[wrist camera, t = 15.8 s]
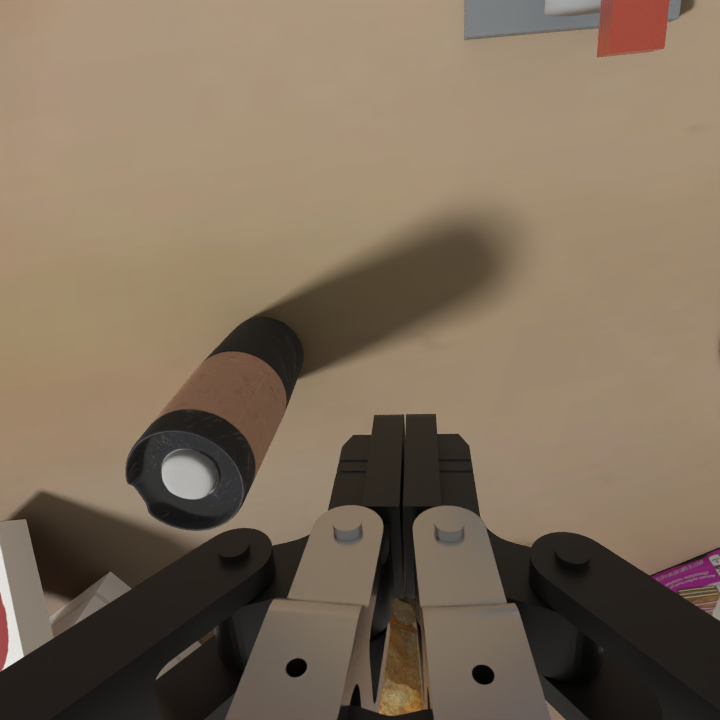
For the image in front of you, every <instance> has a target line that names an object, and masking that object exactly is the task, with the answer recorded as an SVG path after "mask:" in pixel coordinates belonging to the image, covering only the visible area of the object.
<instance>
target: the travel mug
mask: <svg viewBox="0 0 720 720" xmlns="http://www.w3.org/2000/svg"><path fill="white" fill-rule="evenodd" d="M302 363H303V350H302V346H301V343H300V341H299V339H298V337H297V336H296V334H295V333H294V332H293V331H292V330H291V329H290V328H289V327H288V326H286V325H285V324H283V323H282V322H280V321H277V320H275V319H271V318H263V317H261V318H253V319H250V320H247V321H245V322H243V323H241V324H240V325H239V326H237V327H236V328H235V329H234V330H233V331H232V332H231V333H230V334H229V335H228V336H227V337H226V338H225V339H224V341H223V342H222V343H221V344H220V345H219V346H218V347H217V348H216V349H215V350H214V351H213V352H212V353H211V354H210V355H209V356H208V357H207V358H206V359H205V360H204V361H203V362H202V363H201V365H200V366H199V367H198V368H197V369H196V370H195V372H194V373H193V374H192V375H191V377H190V378H189V379H188V380H187V381H186V383H185V384H184V385H183V386H182V387H181V389H180V390H179V391H178V392H177V394H176V395H175V396H174V397H173V398H172V400H171V401H170V402H169V403H168V404H167V406H166V407H165V408H164V409H163V411H162V412H161V413H160V414H159V415H158V417H157V418H156V419H155V420H154V421H153V423H152V424H151V425H150V426H149V427H148V429H147V430H146V431H145V432H144V434H143V435H142V436H141V437H140V438H139V440H138V441H137V442H136V443H135V445H134V446H133V448H132V449H131V451H130V453H129V455H128V458H127V462H126V473H125V474H126V481H127V483H128V484H130V485H132V486H134V487H135V489H136V490H137V491H138V492H139V494H140V495H141V497H142V498H143V500H144V501H145V503H146V505H147V508H148V512H149V513H150V515H151V516H153V517H154V518H155V519H157V520H159V521H161V522H163V523H165V524H167V525H169V526H172V527H175V528H179V529H184V530H192V531H202V530H209V529H213V528H216V527H218V526H221V525H223V524H224V523H226V522H228V521H229V520H230V519H232V518H233V517H234V516H235V515H236V514H237V512H238V511H239V509H240V508H241V506H242V505H243V502H244V500H245V498H246V496H247V494H248V492H249V489H250V487H251V485H252V483H253V481H254V479H255V476H256V474H257V472H258V470H259V468H260V465H261V463H262V461H263V459H264V457H265V455H266V452H267V450H268V448H269V446H270V444H271V442H272V439H273V437H274V435H275V433H276V431H277V429H278V426H279V424H280V422H281V420H282V418H283V416H284V413H285V411H286V408H287V405H288V403H289V400H290V397H291V395H292V392H293V389H294V387H295V384H296V381H297V379H298V376H299V373H300V370H301V367H302Z"/></svg>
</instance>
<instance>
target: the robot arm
mask: <svg viewBox="0 0 720 720" xmlns="http://www.w3.org/2000/svg"><path fill="white" fill-rule="evenodd" d="M719 354H720V347H719ZM405 562H406V584H407V598H412V599H415V604H416V630H417V644H418V656H419V667H420V678H421V690H422V701H423V710H420V711H415V712H410V713H406V714H401V715H396V716H388V715H383V714H380V713H379V709H380V702H381V694H382V687H383V680H384V673H385V666H386V659H387V652H388V645H389V638H390V620H391V617H392V607H393V598H403V599H404V576H405ZM212 629H213V630H214V634H215V635H214V636H213V637H212V638H210V639H209V640H208V641H206V642H205V643H204V644H202V645H201V646H200V647H198V648H197V649H196V650H195V651H193V652H192V653H191V654H189V655H188V656H187V657H185V658H184V659H183V660H181V661H180V662H179V663H177V664H176V665H175V666H174V667H172V668H171V669H170V670H168V671H167V672H166V673H164V674H163V675H162V676H160V677H159V678H158V679H157V680H156V678H157V676H158V674H159V673H160V671H161V670H162V669H163V668H164V667H165V666H166V664H168V663H169V662H170V661H171V660H173V659H174V658H175V657H177V656H178V655H179V654H181V653H182V652H183V651H185V650H186V649H187V648H189V647H190V646H191V645H192V644H194V643H195V642H196V641H198V640H199V639H200V638H202V637H203V636H204V635H206V634H207V633H208V632H210V631H211V630H212ZM546 701H547V702H548V703H549V704H550V705H551V706H552V707H553V708H555V709H556V710H557V711H558V712H559V713H560V714H561V715H562V716H563V717H564V718H565V719H566V720H720V621H719V620H718V619H716V618H715V617H713V616H711V615H710V614H708V613H707V612H705V611H704V610H702V609H701V608H699V607H697V606H696V605H694V604H693V603H691V602H690V601H688V600H686V599H685V598H683V597H682V596H680V595H679V594H677V593H676V592H674V591H672V590H671V589H669V588H668V587H666V586H665V585H663V584H661V583H660V582H658V581H657V580H655V579H654V578H652V577H651V576H649V575H647V574H646V573H644V572H643V571H641V570H640V569H638V568H636V567H635V566H633V565H632V564H630V563H629V562H627V561H626V560H624V559H622V558H621V557H619V556H618V555H616V554H615V553H613V552H611V551H610V550H608V549H607V548H605V547H604V546H602V545H601V544H599V543H597V542H596V541H594V540H592V539H590V538H588V537H585V536H582V535H579V534H575V533H568V532H556V533H550V534H547V535H544V536H542V537H540V538H539V539H537V540H536V541H535V542H534V544H533V545H532V547H527V546H523V545H519V544H515V543H512V542H508V541H506V540H504V539H501V538H500V537H498V536H496V535H495V534H493V533H492V532H491V531H489V530H488V529H487V528H486V526H485V524H484V522H483V521H482V519H481V517H480V513H479V507H478V500H477V494H476V487H475V481H474V474H473V468H472V462H471V455H470V449H469V445H468V444H467V443H466V442H465V441H464V440H463V439H462V437H461V436H460V435H459V434H437V426H436V414H406V435H405V423H404V415H374V421H373V428H372V435H353V436H352V437H351V438H350V439H349V440H348V441H347V442H346V443H345V444H344V445H343V447H342V450H341V455H340V459H339V464H338V468H337V474H336V477H335V481H334V486H333V490H332V495H331V499H330V504H329V508H328V511H327V512H325V513H324V514H322V515H321V516H320V517H319V518H318V519H317V520H316V521H315V523H314V525H313V528H312V531H311V533H310V534H309V535H308V536H306V537H303V538H301V539H298V540H295V541H291V542H287V543H283V544H278V545H274V546H272V543H271V541H270V539H269V537H268V536H267V535H266V534H264V533H263V532H261V531H259V530H256V529H251V528H238V529H233V530H229V531H226V532H223V533H221V534H219V535H217V536H215V537H213V538H212V539H210V540H209V541H207V542H205V543H204V544H202V545H201V546H199V547H198V548H196V549H194V550H193V551H191V552H190V553H188V554H186V555H185V556H183V557H182V558H180V559H178V560H177V561H175V562H174V563H172V564H171V565H169V566H167V567H166V568H164V569H163V570H161V571H159V572H158V573H156V574H155V575H153V576H151V577H150V578H148V579H147V580H145V581H144V582H142V583H140V584H139V585H137V586H136V587H134V588H132V589H131V590H129V591H128V592H126V593H124V594H123V595H121V596H120V597H118V598H117V599H115V600H113V601H112V602H110V603H109V604H107V605H105V606H104V607H102V608H101V609H99V610H97V611H96V612H94V613H93V614H91V615H90V616H88V617H86V618H85V619H83V620H82V621H80V622H78V623H77V624H75V625H74V626H72V627H70V628H69V629H67V630H66V631H64V632H63V633H61V634H59V635H58V636H56V637H55V638H53V639H51V640H50V641H48V642H47V643H45V644H43V645H42V646H40V647H39V648H37V649H35V650H34V651H32V652H31V653H29V654H28V655H26V656H24V657H23V658H21V659H20V660H18V661H16V662H15V663H13V664H12V665H10V666H8V667H7V668H5V669H4V670H2V671H1V672H0V720H551V717H550V714H549V710H548V707H547V704H546Z"/></svg>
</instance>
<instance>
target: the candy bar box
mask: <svg viewBox="0 0 720 720" xmlns="http://www.w3.org/2000/svg"><path fill="white" fill-rule="evenodd" d="M651 577H652V578H654V579H655V580H657V581H658V582H660V583H661V584H663V585H665V586H666V587H668V588H669V589H671V590H672V591H674V592H676V593H677V594H679V595H680V596H682V597H683V598H685V599H686V600H688V601H690V602H691V603H693V604H694V605H696V606H697V607H699V608H701V609H702V610H704V611H705V612H707V613H708V614H710V615H711V616H713V617H715V618H716V619H718V620H719V621H720V549H718V550H715V551H713V552H710V553H708V554H706V555H703V556H701V557H698V558H696V559H693V560H691V561H688V562H686V563H683V564H681V565H678V566H676V567H673V568H670V569H668V570H665V571H663V572H660V573H658V574H656V575H653V576H651Z"/></svg>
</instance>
